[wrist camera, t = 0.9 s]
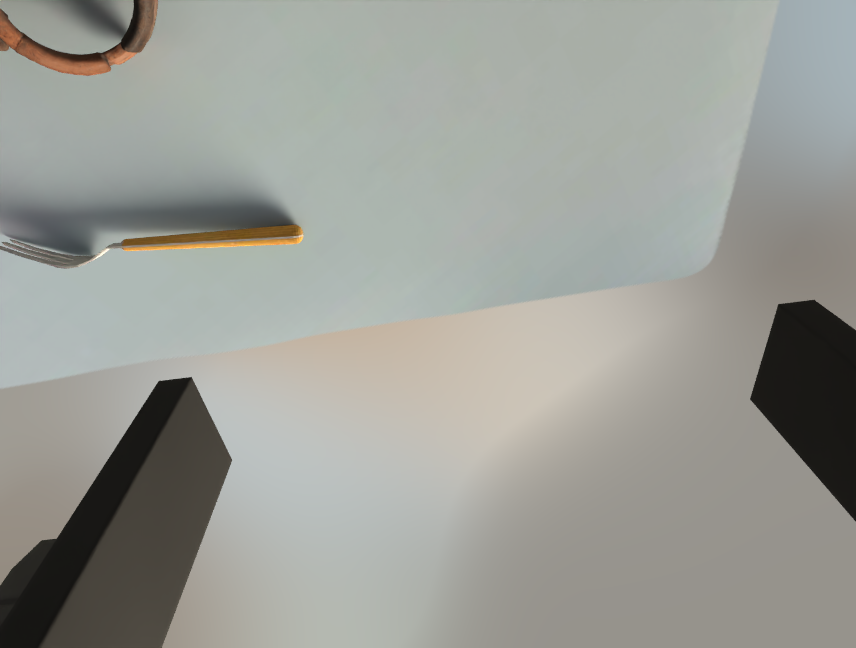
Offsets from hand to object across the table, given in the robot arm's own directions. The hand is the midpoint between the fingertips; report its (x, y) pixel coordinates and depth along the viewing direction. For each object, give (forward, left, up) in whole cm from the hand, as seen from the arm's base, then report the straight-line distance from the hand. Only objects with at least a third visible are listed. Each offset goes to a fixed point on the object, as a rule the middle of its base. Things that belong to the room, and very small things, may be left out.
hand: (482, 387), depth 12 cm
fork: (-7, -18, -27) cm, 33 cm away
